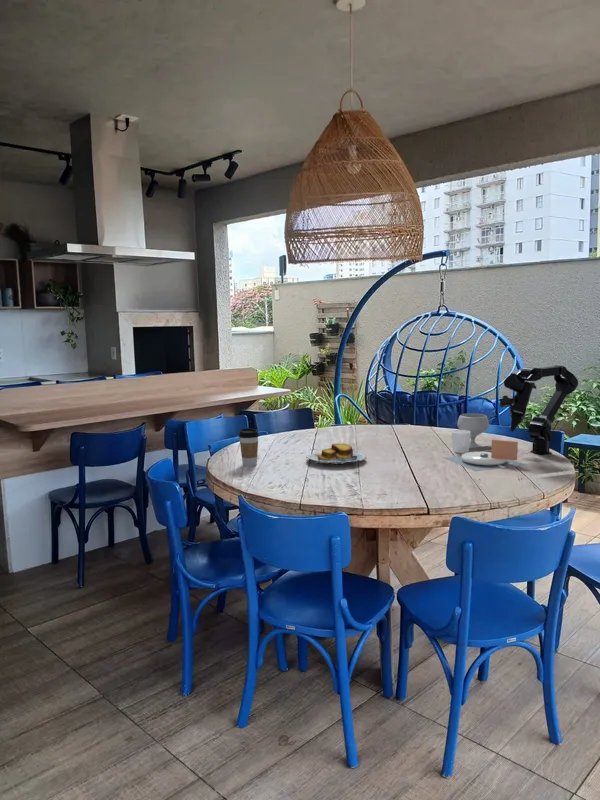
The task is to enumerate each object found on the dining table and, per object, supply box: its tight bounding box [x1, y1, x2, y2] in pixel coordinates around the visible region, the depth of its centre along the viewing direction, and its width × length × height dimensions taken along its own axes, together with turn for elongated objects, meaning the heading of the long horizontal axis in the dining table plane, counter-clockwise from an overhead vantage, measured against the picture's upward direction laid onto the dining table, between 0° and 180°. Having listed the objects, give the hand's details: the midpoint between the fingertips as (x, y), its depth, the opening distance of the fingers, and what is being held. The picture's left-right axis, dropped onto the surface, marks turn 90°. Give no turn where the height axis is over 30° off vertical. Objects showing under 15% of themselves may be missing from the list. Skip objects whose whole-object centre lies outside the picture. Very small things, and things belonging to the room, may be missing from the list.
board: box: [443, 455, 528, 472], centre depth 253 cm, size 24×24×1 cm
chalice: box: [456, 412, 490, 449], centre depth 283 cm, size 14×14×15 cm
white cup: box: [451, 429, 471, 454], centre depth 271 cm, size 8×8×10 cm
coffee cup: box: [238, 427, 260, 468], centre depth 258 cm, size 8×8×15 cm
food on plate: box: [305, 443, 367, 465], centre depth 262 cm, size 25×25×7 cm
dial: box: [461, 438, 519, 465], centre depth 252 cm, size 18×19×9 cm
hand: (511, 430), depth 260 cm, fingers open, 9 cm apart
